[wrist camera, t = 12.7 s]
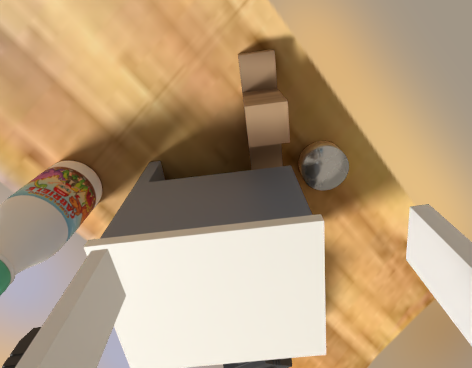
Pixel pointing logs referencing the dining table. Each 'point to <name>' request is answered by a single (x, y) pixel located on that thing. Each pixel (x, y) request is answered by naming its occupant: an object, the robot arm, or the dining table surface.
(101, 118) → the dining table surface
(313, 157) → the puck
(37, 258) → the milk bottle
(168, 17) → the dining table surface
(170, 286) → the cabinet
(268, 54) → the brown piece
